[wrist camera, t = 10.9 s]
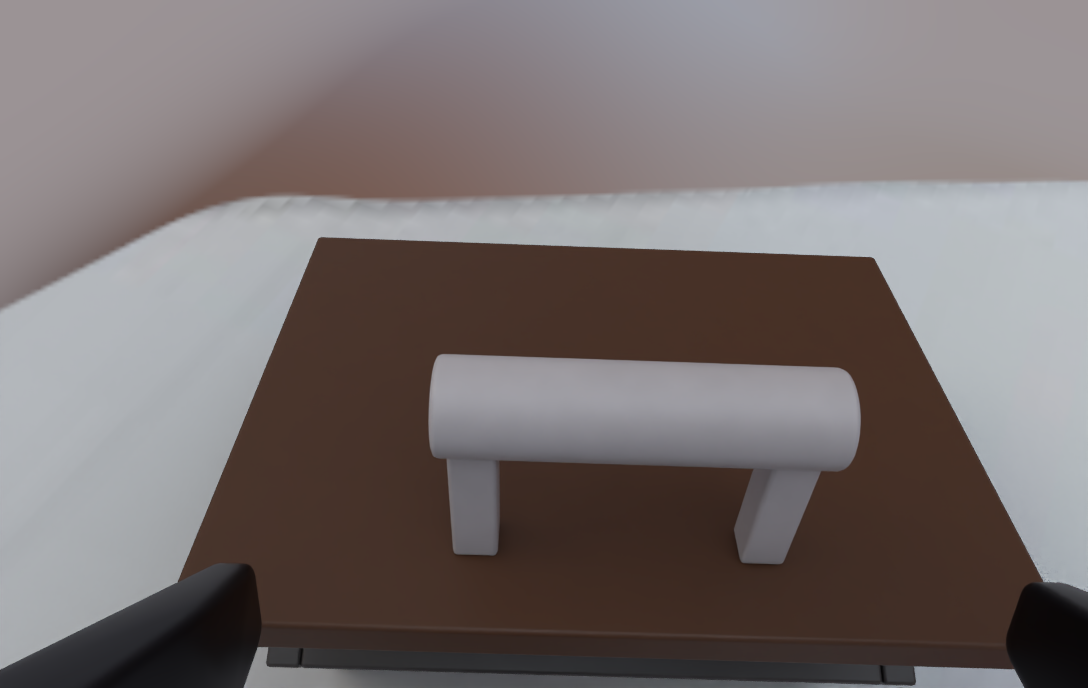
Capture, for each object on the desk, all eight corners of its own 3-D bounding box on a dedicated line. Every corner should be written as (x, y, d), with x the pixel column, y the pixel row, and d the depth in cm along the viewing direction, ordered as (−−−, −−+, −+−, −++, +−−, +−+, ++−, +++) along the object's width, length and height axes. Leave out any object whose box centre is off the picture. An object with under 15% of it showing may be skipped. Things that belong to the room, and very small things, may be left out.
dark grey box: (820, 676, 21) (918, 685, 16) (329, 662, 21) (264, 666, 16) (790, 354, 25) (863, 274, 20) (366, 339, 25) (324, 255, 19)
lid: (1059, 672, 12) (1239, 491, 9) (171, 647, 12) (63, 452, 9) (865, 279, 19) (929, 111, 17) (322, 259, 19) (290, 86, 16)
